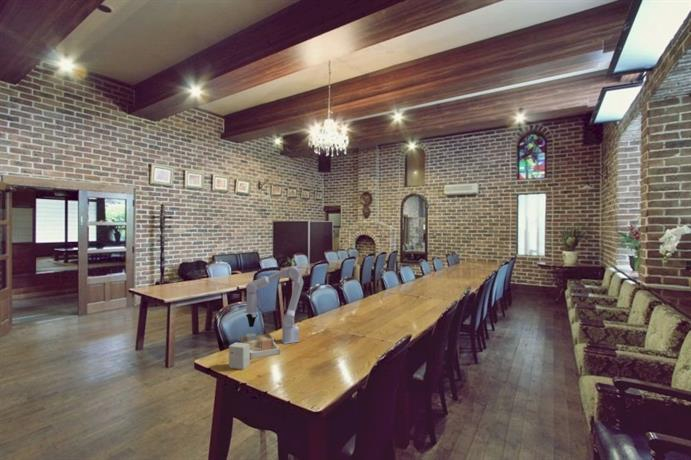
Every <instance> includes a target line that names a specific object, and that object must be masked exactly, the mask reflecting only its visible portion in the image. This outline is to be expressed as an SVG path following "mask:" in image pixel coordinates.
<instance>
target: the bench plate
mask: <svg viewBox="0 0 691 460" xmlns="http://www.w3.org/2000/svg"><path fill="white" fill-rule="evenodd" d="M256 335H257V340H253V341H247V340H246V336H241V337H240V343H247V344H249V348H250V350H252V349H258V348H261V340H266V339H271V346H273V342H275V339H274V338H273V336H272V335H271V334H270V333H263V334H262V333H261V334H256Z"/></svg>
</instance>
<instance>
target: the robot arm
mask: <svg viewBox="0 0 691 460" xmlns="http://www.w3.org/2000/svg"><path fill="white" fill-rule="evenodd" d="M282 277H285V278H288V277H289V278H290V279H291V280H292V281H293V282H294V287H293V290H292V294H291V297H290V301H289V303H288V306H287V310H286V312H285V313H284V315H283V318H282V319H283V321H282V328H281V329H282V333H281V334H282V337H281V338H280V340H279V341H281V343H282V344H283V345H287V344H294V343H299V342H300V328H299V325H298V324H295V314H296V310H297V307H298V303H299V300H300V297H301V293H302V290H303V286H304V279H303V276H302V273H301V271H300V270H299V268H298V267H297V266H296V265H290V266H289V267H286V268H282V269H281V270H279V271H277V272H275V273H273V274H271V275H269V276H266V275H264V276H263V275H262V276H260V277H259V278H258V279H256V280H255V279H253V280H252V281H251V282H248V284H247V286H246V289H245V290H246V305H245V306H246V310H244V311H243V312H244V314H245V316H246V318H247V321H248V327H249V328H253V327H254V325H255V321H256V319H257V317H258V315H257V313H258V310H257V308H258V300H257V299H258V297H257V296H258V295H257V291H258V290H261V289H263V288H265V287H268V286H270V283H271V282H273V281H275V280H277V279H280V278H282Z"/></svg>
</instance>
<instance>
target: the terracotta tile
mask: <svg viewBox="0 0 691 460" xmlns="http://www.w3.org/2000/svg"><path fill="white" fill-rule="evenodd" d="M261 350H262V351H265V350H271V339H266V340H261Z"/></svg>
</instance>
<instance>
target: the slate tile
mask: <svg viewBox="0 0 691 460" xmlns="http://www.w3.org/2000/svg"><path fill="white" fill-rule="evenodd" d="M257 335H258V334H256V333H255V332H254V333H253V332H252V333H246V334H245V337H246V340H247V341H253V340H257Z"/></svg>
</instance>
